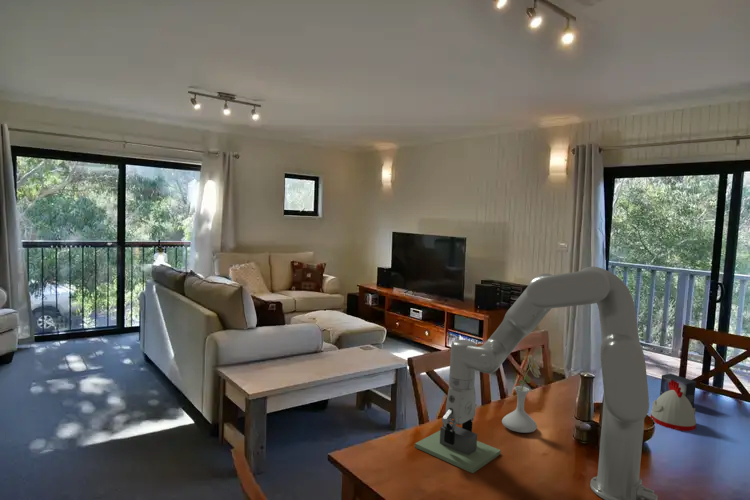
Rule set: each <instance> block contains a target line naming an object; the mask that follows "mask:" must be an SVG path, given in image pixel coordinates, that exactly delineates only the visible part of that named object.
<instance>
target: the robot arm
mask: <svg viewBox="0 0 750 500" xmlns="http://www.w3.org/2000/svg"><path fill="white" fill-rule="evenodd" d="M593 304H596V305H597V308H598V314H599V322H600V323H599V324H600V333H601V335H600V336H601V345H600V364H601V367H600V368H601V374H602V375H601V376H602V385H603V386H602V388H603V401H602V402H603V406H602V418H601V419H602V420H601V429H600V440H599V441H600V442H599V443H600V444H599V455H598V464H597V466H598V467H597V475H596V476H593V477H592V478H591V480H590V485H589V486H590V488H591V490H592V492H593V493H594V494H596V495H597V497H600V498H601V499H603V500H658V498H659V497H658V495H657V494H655V490H653V489H651V488H649V487H645V485H643V479H642V478H640V472H641V461H642V460H641V459H642V449H643V440H644V430H645V418H646V417H647V415H648V413H649V411H650V397H649V384H648V376H647V374H648V373H647V366H646V358H645V357H646V356H645V353H644V351H643V348H642V347H643V346H642V345H641V342H640V337H639V329H638V322H637V321H638V320H637V314H636V308H635V307H636V306H635V302H634V298H633V296H632V293H631V292H630V290H629V288H628V286H627V285H626V284H625V282H624V281H623V280H622V279H621V278H620V277H619V276H618V275H616V274H615V273H613V272H611V271H609V270H607V269H604V268H602V267H598V266H587V267H584V268H582V269H580V270H578V271H573V272H567V273H560V274H559V273H558V274H551V273H541V274H538V275H537V276H535V277H534V278H532V279H531V280H530V281H529V283H528V285H527V287H526V288H525V289H524V290H523V292H522V293H521V294H520V296H519V297H518V298H517V299H516V300H515V301H514V303H513V304H512V305H511V306H510V307H509V309H507V311H506V313H505V315H504V317H503V319H502V321H501V323H500V324H499V325H498V327H497V328H496V330H494V332H493V333H492V334H491V335H490V337H489V338H488V339H487V340H486V341H485V343H483V344H482V345H479V346H478V345H477V344H476V343H475V342H473V341H472V340H467V339H456V340H454V341H452V343H451V344H450V345H451V346H450V361H449V375H448V392H447V397H446V404H445V414H444V415H443V417H442V418H441V422H442V426H443V427H444V429H445V435H444V441H445V442H446V443H449V444H451V445H454V442H455V431H454V429H455V427H456V426H460V425H461V428H463V429H466V430H468V431H471V432H473V422H474V417H476V408H477V401H476V400H477V399H476V396H477V395H476V386H475V385H476V384H475V383H476V381H475V380H476V371H478V372H481V373H483V374H493V373H495V372H496V371H498V370H499V368H500V367H501V366H502V364H503V363H504V362H505V360H506V359H507V358H508V357H509V356H510V354H511V353H512V352H513V351H514V350H515V348H516V347H517V346H518V345H519V343H521V341H523V339H525V338H526V337H527V336H529V335H530V334H532V332H533V331H534V330H535V329H536V327H537V326H538V325H539V324H540V323H541V322H542V321H543V319H544V318H545V317H546V316H547V314H548V313H549V312H550V311H551V310H552V309H557V308H558V309H559V308H568V307H576V306H586V305H593ZM449 423H450V424H452V427H451V425H450V424H449Z"/></svg>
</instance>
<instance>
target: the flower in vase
mask: <svg viewBox="0 0 750 500" xmlns="http://www.w3.org/2000/svg"><path fill="white" fill-rule="evenodd" d="M527 363H528V370H527V371H526V373H525V375H524V377H523V380H521V379H520V380H519V382H518V384H519V385H517V386H514V388H513V389H514V390H515V394H516V396H517V397H516V398H517V402H516V403H517V404H516V408H515V409H514V410H513V411H511V412H509V413H507V414H506V415H505V416H504V417H503V418H502V420H501V423H502V425H503V426H504V427H505V428H507V429H508V430H510V431H512V432H517V433H522V434H523V433H524V434H528V433H533V432H535V431H536V430H537V428H538V425H537V423H536V421H535V420H534V419H533V418H532V417H531V416H530V415H529V414H528V413H527V412H526V411H525V400H526V397H527V395H528V393H529V392H530V389H529V388H528V387H526V386H524V385H525V384H527V383H528V384H530V383H531V376H529V375H527V374H528V373H529V371H531V373H532V375H533V377H535V378H536V379H537V378H540V376H541V375H542V374H541V372H540V366H539V365H538V363H537V359H536V358H534V357H533V354H528V356H527ZM520 385H521V386H520Z"/></svg>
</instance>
